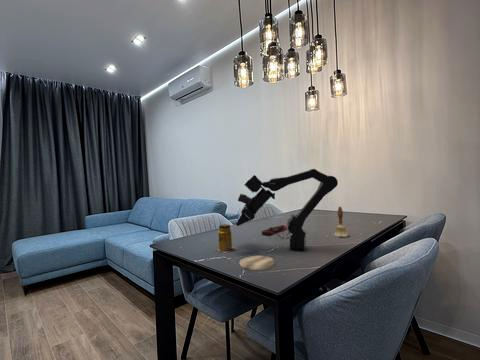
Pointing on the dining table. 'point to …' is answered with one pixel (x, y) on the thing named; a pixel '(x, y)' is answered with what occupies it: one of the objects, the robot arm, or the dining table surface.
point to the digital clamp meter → (275, 231)
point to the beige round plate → (256, 262)
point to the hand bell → (340, 225)
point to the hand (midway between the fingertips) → (237, 223)
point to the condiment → (225, 239)
